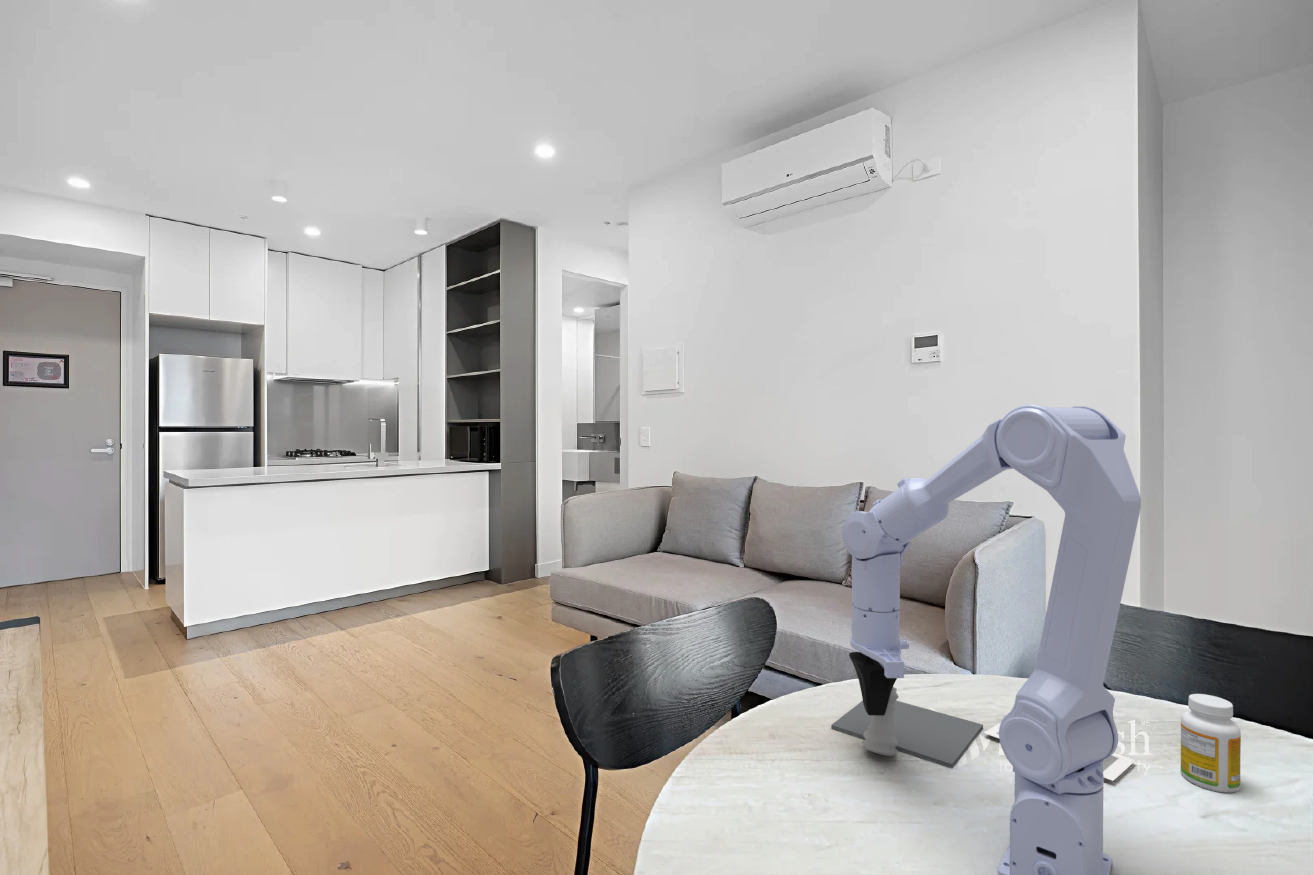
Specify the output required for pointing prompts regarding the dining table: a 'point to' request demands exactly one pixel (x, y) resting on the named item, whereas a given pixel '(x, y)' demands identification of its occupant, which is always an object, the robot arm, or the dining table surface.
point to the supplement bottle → (1210, 744)
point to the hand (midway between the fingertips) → (875, 713)
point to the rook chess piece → (882, 731)
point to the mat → (918, 731)
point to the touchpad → (1110, 765)
